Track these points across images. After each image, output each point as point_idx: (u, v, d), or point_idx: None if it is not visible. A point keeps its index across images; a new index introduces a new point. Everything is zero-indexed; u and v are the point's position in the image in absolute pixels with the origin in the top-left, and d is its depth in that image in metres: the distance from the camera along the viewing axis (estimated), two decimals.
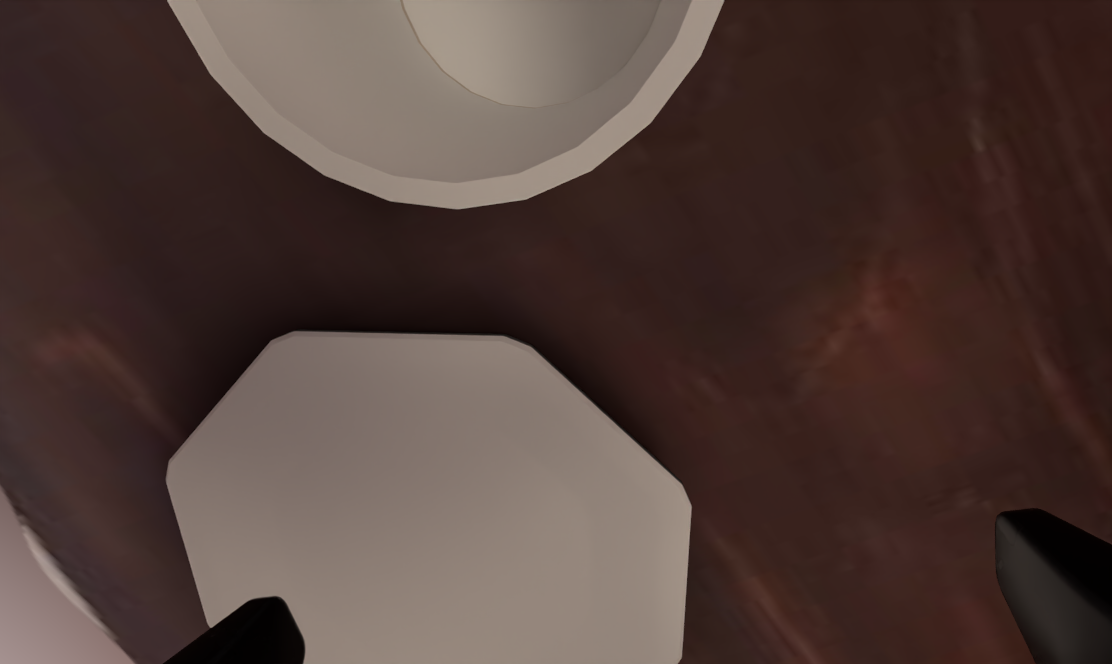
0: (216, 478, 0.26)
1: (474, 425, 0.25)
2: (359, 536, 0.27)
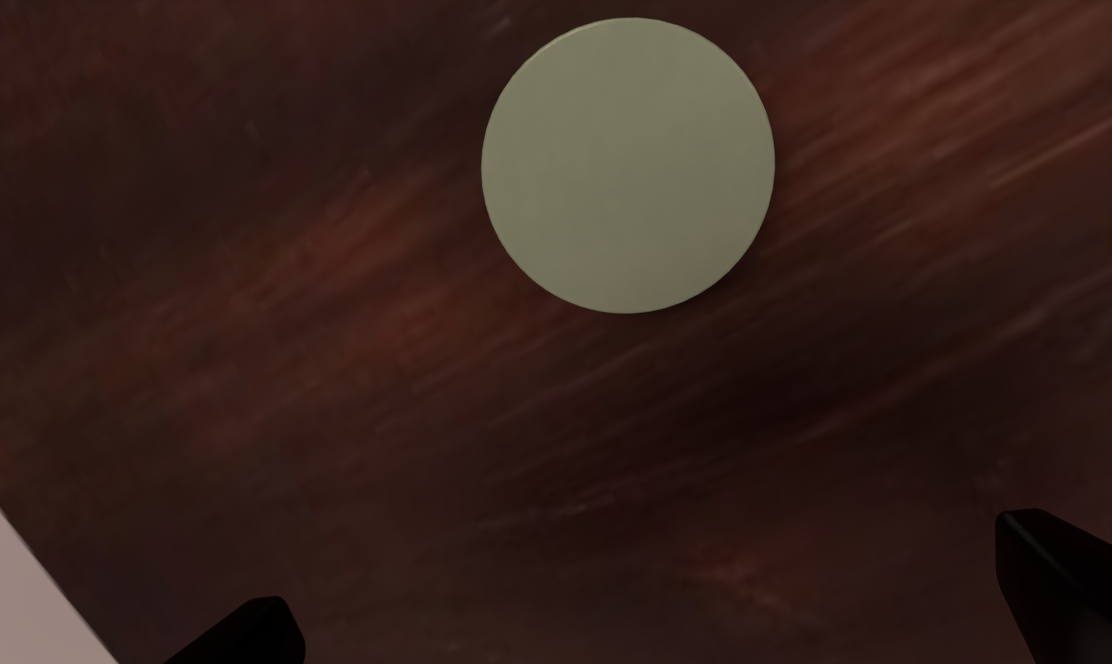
0: None
1: None
2: None
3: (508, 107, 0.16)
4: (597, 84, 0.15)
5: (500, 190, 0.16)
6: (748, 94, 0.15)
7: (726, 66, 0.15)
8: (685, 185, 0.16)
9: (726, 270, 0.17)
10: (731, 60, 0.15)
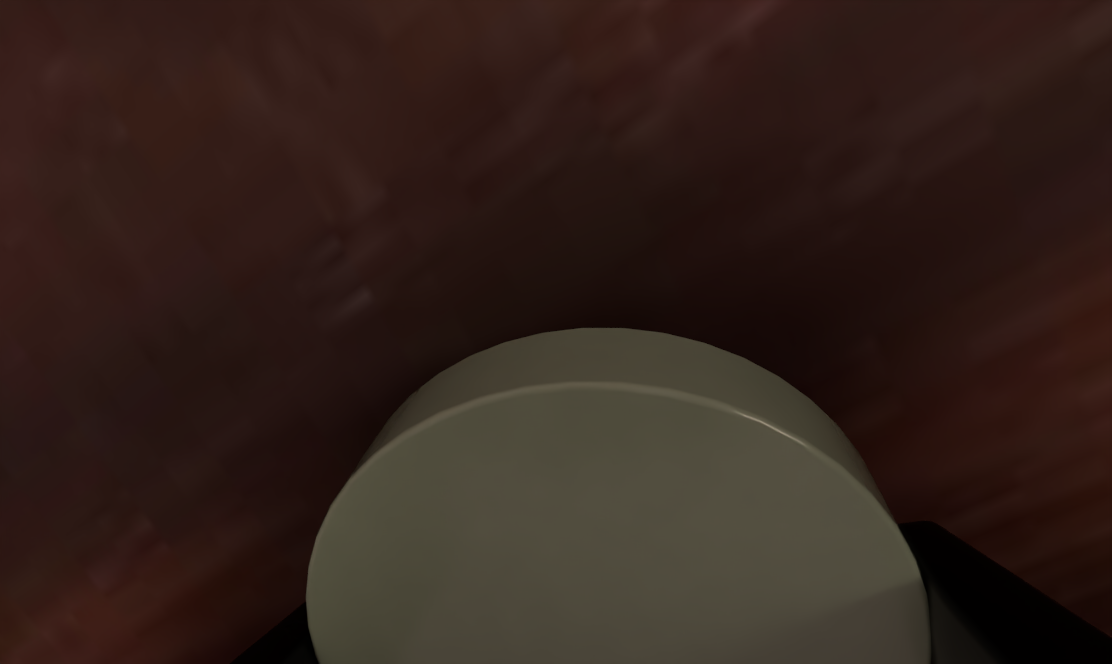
0: None
1: None
2: None
3: (347, 533, 0.07)
4: (536, 502, 0.07)
5: (351, 663, 0.08)
6: (880, 537, 0.06)
7: (829, 481, 0.06)
8: None
9: None
10: (842, 473, 0.06)
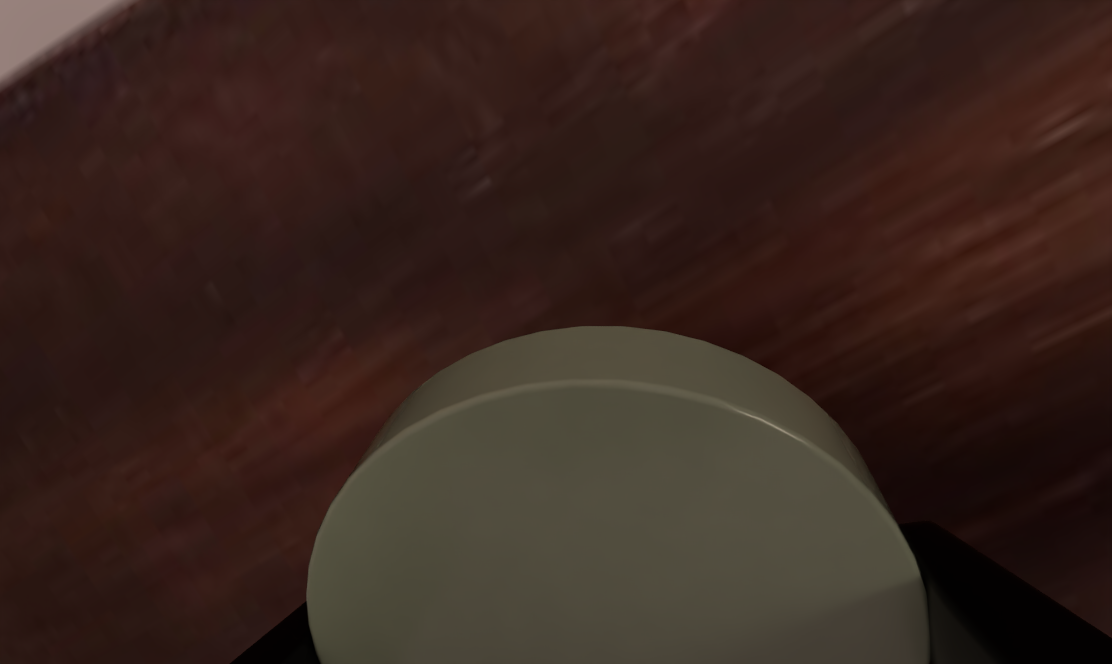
0: None
1: None
2: None
3: (347, 530, 0.07)
4: (536, 501, 0.07)
5: (351, 661, 0.08)
6: (879, 535, 0.07)
7: (828, 479, 0.06)
8: None
9: None
10: (841, 471, 0.06)
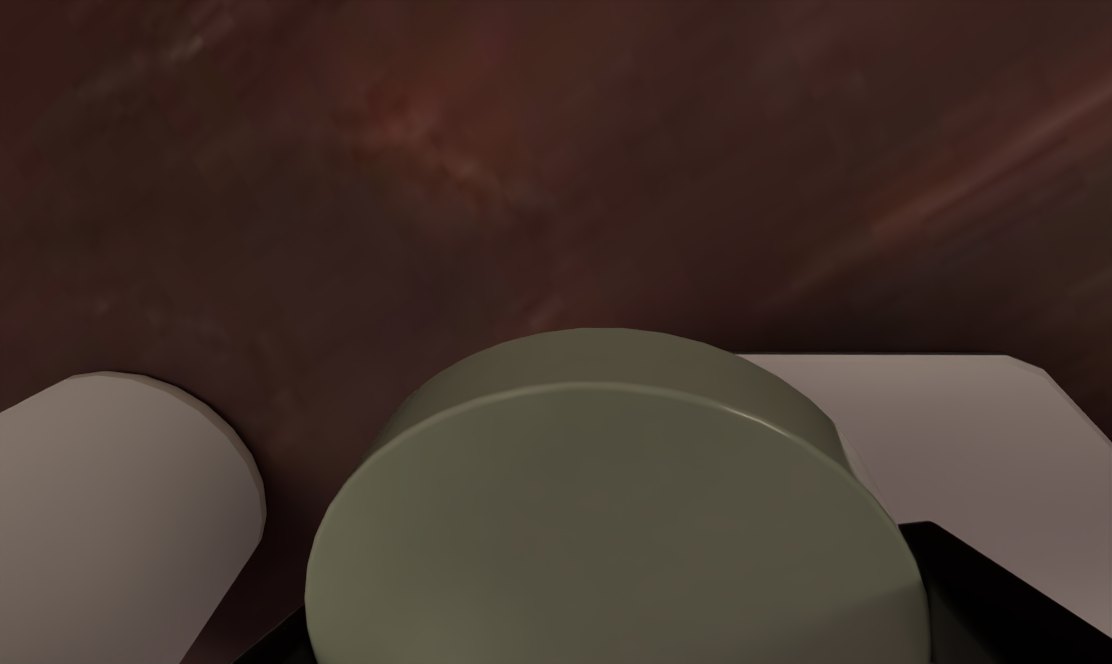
0: None
1: None
2: None
3: (346, 533, 0.07)
4: (536, 502, 0.07)
5: None
6: (879, 538, 0.06)
7: (829, 482, 0.06)
8: None
9: None
10: (842, 473, 0.06)
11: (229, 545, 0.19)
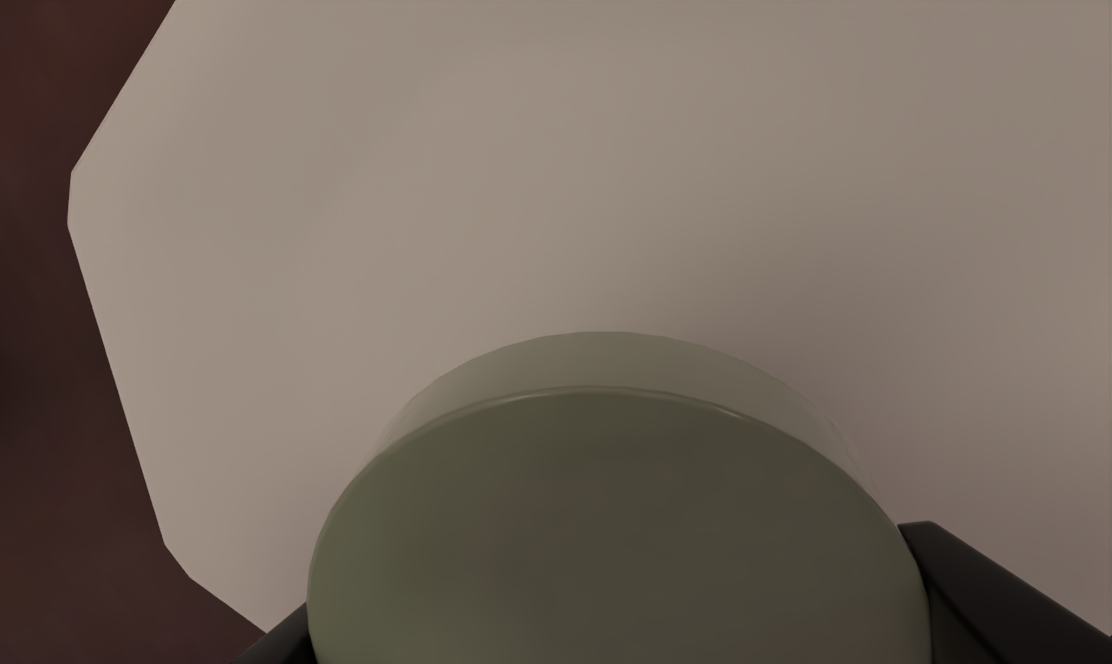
0: None
1: (307, 285, 0.13)
2: None
3: (347, 537, 0.07)
4: (537, 506, 0.07)
5: None
6: (881, 541, 0.06)
7: (830, 486, 0.06)
8: None
9: None
10: (843, 477, 0.06)
11: None
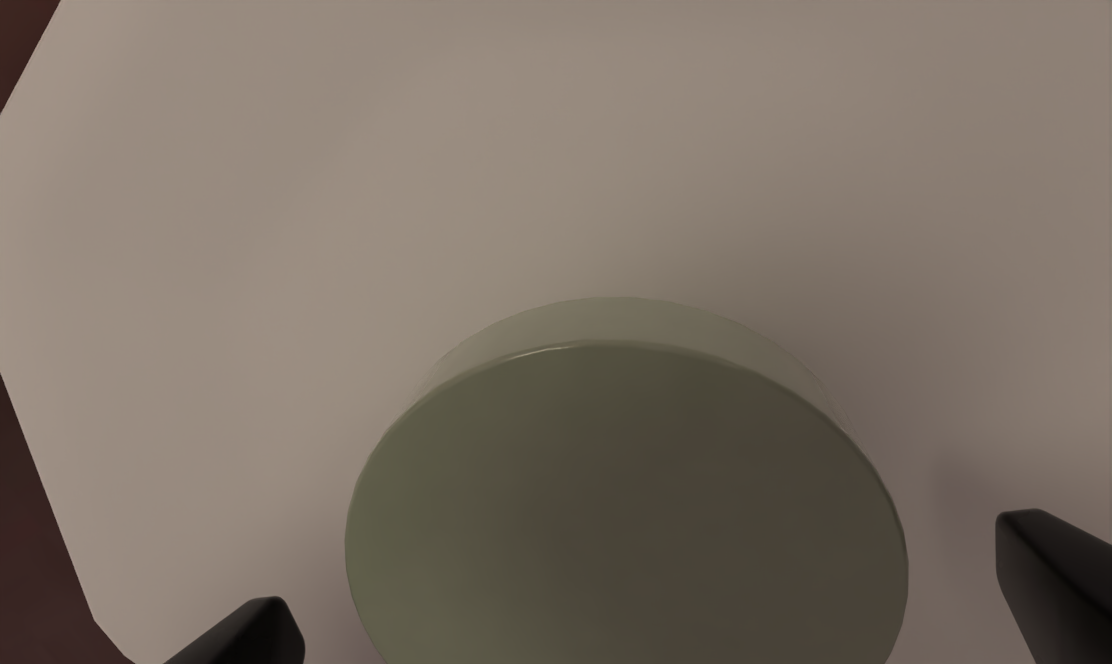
0: None
1: (250, 325, 0.11)
2: None
3: (383, 480, 0.08)
4: (555, 450, 0.08)
5: (384, 603, 0.09)
6: (861, 479, 0.07)
7: (815, 429, 0.07)
8: (731, 613, 0.08)
9: None
10: (827, 421, 0.07)
11: None
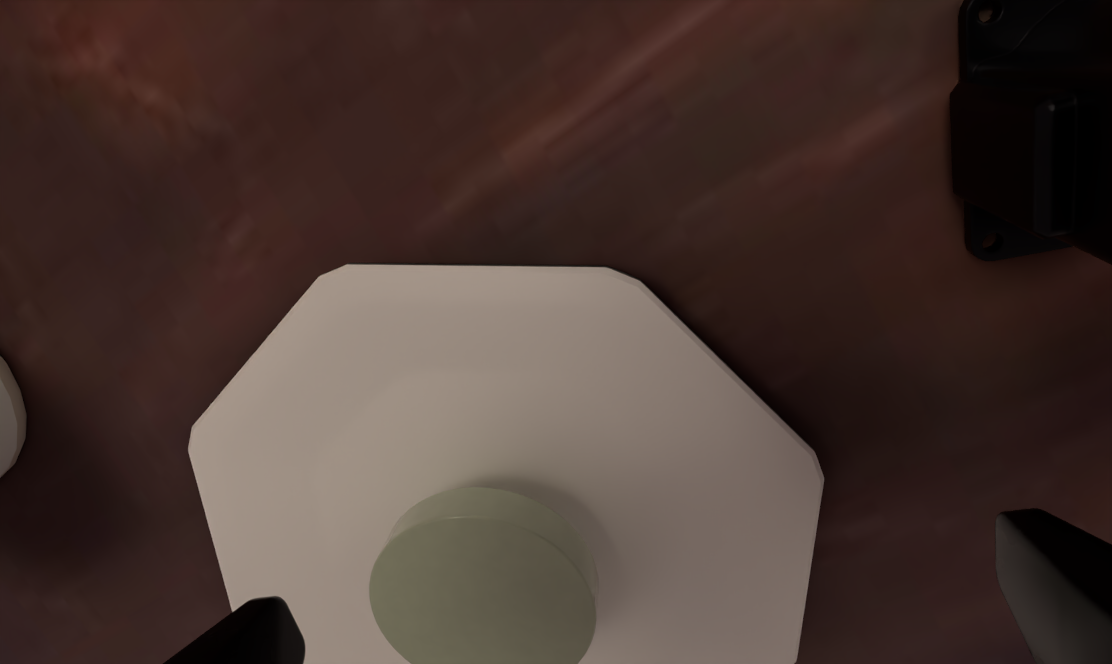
0: None
1: (321, 477, 0.23)
2: None
3: (385, 563, 0.20)
4: (452, 553, 0.19)
5: (385, 613, 0.21)
6: (567, 566, 0.19)
7: (549, 548, 0.19)
8: (528, 617, 0.20)
9: None
10: (552, 545, 0.19)
11: None
